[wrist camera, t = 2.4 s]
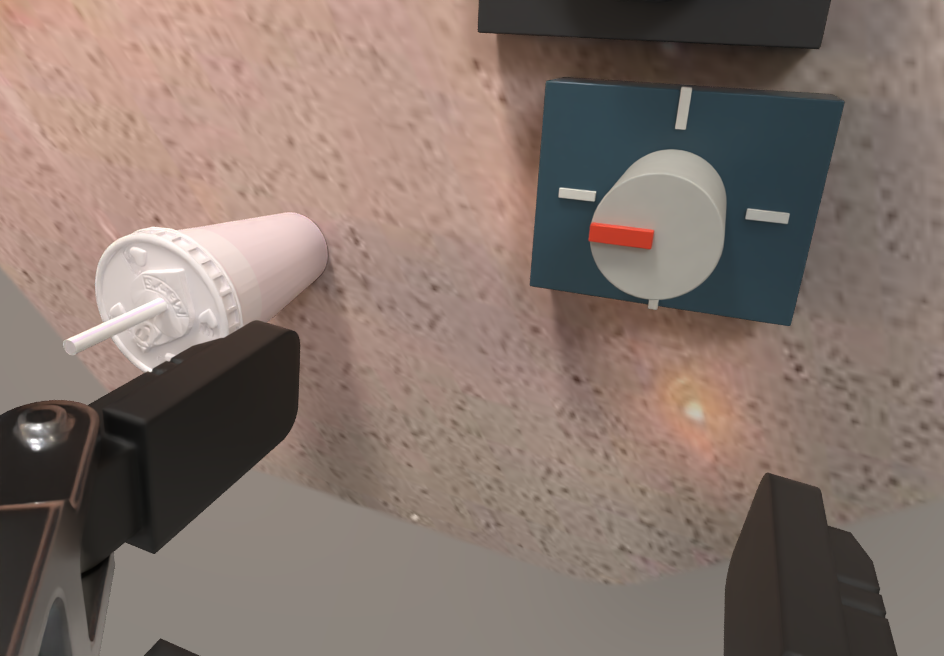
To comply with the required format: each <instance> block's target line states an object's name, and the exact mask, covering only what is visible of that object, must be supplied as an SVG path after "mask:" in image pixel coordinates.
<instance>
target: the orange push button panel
mask: <svg viewBox="0 0 944 656" xmlns="http://www.w3.org/2000/svg"><path fill="white" fill-rule="evenodd" d="M830 2H831V0H479V13H478V32H479V33H495V34H516V35H537V36H558V37H578V38H599V39H620V40H641V41H661V42H682V43H703V44H724V45H744V46H765V47H786V48H807V49H819V48H820V47H821V43H822V38H823V34H824V29H825V25H826V20H827V16H828V11H829V7H830Z"/></svg>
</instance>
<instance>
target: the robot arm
mask: <svg viewBox="0 0 944 656" xmlns="http://www.w3.org/2000/svg"><path fill="white" fill-rule="evenodd" d="M299 369H300V339H299V336H298V334H297V333H296V332H295V331H293V330H289V329H286V328H283V327H279V326H276V325H273V324H269V323H266V322H263V321H259V320H255V321H252V322H250V323H248V324H246V325H245V326H243V327H241V328H240V329H238V330H236V331H234V332H233V333H231V334H229V335H228V336H226V337H224V338H219V339H215V340H211V341H208V342H204V343H201V344H197V345H193V346H191V347H190V348H188V349H186V350H184V351H183V352H181V353H179V354H177V355H176V356H174V357H172V358H171V360H170V361H165V362H163V363H161V364H160V365H158V366H156V367H154V368H153V369H152V372H149V371H147V372H145V373H144V374H142V375H140V376H138V377H137V378H135V379H133V380H131V381H130V382H128V383H126V384H124V385H122V386H121V387H119V388H117V389H115V390H114V391H112V392H110V393H108V394H107V395H105V396H103V397H101V398H100V399H98V400H96V401H94V402H93V403H91V404H89V405H85V404H82V403H79V402H74V401H67V400H49V401H41V402H34V403H30V404H26V405H23V406H20V407H16V408H14V409H12V410H9V411H7V412H5V413H3V414H2V415H0V656H99V654H100V649H101V643H102V638H103V632H104V626H105V620H106V614H107V608H108V603H109V597H110V592H111V586H112V580H113V574H114V569H115V561H114V551H115V550H116V549H117V548H119V547H120V546H121V545H122V544H123V543H125V542H126V543H128V544H131V545H133V546H136V547H138V548H140V549H143V550H146V551H148V552H150V553H153V554H155V553H156V552H158V551H159V550H160V549H161V548H162V547H163V546H164V545H165V544H166V543H168V542H169V541H170V540H171V539H172V538H173V537H174V536H176V535H177V534H178V533H179V532H180V531H181V530H182V529H183V528H185V527H186V526H187V525H188V524H189V523H190V522H191V521H192V520H194V519H195V518H196V517H197V516H198V515H199V514H200V513H201V512H203V511H204V510H205V509H206V508H207V507H208V506H209V505H210V504H211V503H213V502H214V501H215V500H216V499H217V498H218V497H220V496H221V495H222V494H223V493H224V492H225V491H226V490H227V489H228V488H230V487H231V486H232V485H233V484H234V483H235V482H236V481H238V480H239V479H240V478H241V477H242V476H243V475H244V474H245V473H246V472H248V471H249V470H250V469H251V468H252V467H253V466H254V465H256V464H257V463H258V462H259V461H260V460H261V459H262V458H263V457H265V456H266V455H267V454H268V453H269V452H270V451H271V450H272V449H274V448H275V447H276V446H277V445H278V444H279V443H280V442H281V441H283V440H284V439H285V437H286V436H287V435H288V433H289V432H290V430H291V428H292V426H293V424H294V422H295V419H296V415H297V411H298V397H299ZM879 591H880V587H879V584H878V580H877V576H876V572H875V568H874V565H873V561H872V560H871V559H870V557H869V556H868V555H867V553H866V552H865V551H864V549H863V548H862V547H861V545H860V544H859V543H858V541H857V540H856V539H855V538H854V536H853V535H852V534H851V533H850V532H847V531H844V530H841V529H837V528H834V527H831V526H828V525H827V520H826V515H825V509H824V504H823V499H822V494H821V490H820V489H819V488H818V487H815V486H811V485H808V484H805V483H801V482H798V481H794V480H791V479H788V478H784V477H781V476H778V475H774V474H771V473H766V474H765V475H764V476H763V478H762V480H761V482H760V484H759V486H758V489H757V491H756V494H755V497H754V499H753V502H752V504H751V507H750V510H749V512H748V515H747V517H746V520H745V523H744V525H743V528H742V530H741V533H740V536H739V538H738V541H737V543H736V546H735V549H734V551H733V554H732V557H731V561H730V565H729V569H728V574H727V579H726V586H725V619H724V656H897V652H896V649H895V645H894V641H893V637H892V634H891V630H890V626H889V622H888V619H886V618H885V615H886V611H885V607H884V603H883V599H882V596H881V595H880V594H879ZM144 656H199V655H197V654H194V653H192V652H190V651H188V650H185V649H183V648H181V647H179V646H176V645H174V644H172V643H170V642H167V641H165V640H163V639H159V640H158V641H157V643H156V644H155V645H154V646H153V647H152V648H151V649H150V650H149V651H148V652H147V653H146V654H145V655H144Z"/></svg>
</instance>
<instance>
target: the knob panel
mask: <svg viewBox="0 0 944 656" xmlns="http://www.w3.org/2000/svg"><path fill="white" fill-rule="evenodd" d="M844 103H845V102H844V101H843V100H842V99H840V98H838V97H836V96H835V95H833V94H819V93H804V92H788V91H773V90H758V89H742V88H727V87H712V86H696V85H681V84H665V83H650V82H635V81H619V80H604V79H589V78H573V77H562V78H557V79H553V80H548V81H546V87H545V99H544V112H543V125H542V137H541V150H540V162H539V175H538V188H537V200H536V213H535V226H534V238H533V251H532V263H531V276H530V286H533V287H540V288H546V289H552V290H559V291H565V292H572V293H578V294H585V295H591V296H598V297H604V298H610V299H617V300H623V301H630V302H636V303H643V304H648V309H654V310H657V308H658V306H662V307H668V308H675V309H681V310H688V311H694V312H701V313H707V314H714V315H720V316H726V317H733V318H739V319H746V320H752V321H759V322H765V323H772V324H778V325H784V326H790V325H791V322H792V318H793V314H794V310H795V306H796V302H797V297H798V293H799V289H800V285H801V281H802V277H803V273H804V269H805V264H806V260H807V256H808V252H809V248H810V244H811V240H812V235H813V231H814V227H815V223H816V219H817V215H818V211H819V207H820V202H821V198H822V194H823V190H824V186H825V182H826V178H827V173H828V169H829V165H830V161H831V157H832V153H833V149H834V144H835V140H836V136H837V132H838V128H839V124H840V120H841V116H842V111H843V107H844ZM668 149H675V150H683V151H687V152H691V153H693V154H695V155H698V156H700V157H701V158H703V159H704V160H706V161H707V162H708V163H709V164H710V165H711V166H712V167H713V168H714V169H715V170H716V171H717V173H718V174H719V176H720V178H721V180H722V182H723V185H724V188H725V192H726V203H727V205H726V221H725V236H724V246H723V250H722V254H721V257H720V259H719V262H718V264H717V265H716V267H715V269H714V271H713V272H712V273H711V274H710V276H709V277H708V278H707V279H706V280H705V281H704V282H703V283H702V284H700V285H699V286H698V287H696V288H695V289H693V290H692V291H690V292H688V293H686V294H684V295H681V296H678V297H675V298H671V299H665V300H649V299H642V298H638V297H635V296H632V295H629V294H627V293H625V292H623V291H621V290H620V289H618V288H617V287H615V286H614V285H613V284H612V283H610V282H609V281H608V280H607V279H606V277H605V276H604V275H603V274H602V273H601V271H600V270H599V268H598V266H597V264H596V262H595V260H594V257H593V255H592V251H591V246H590V241H589V232H590V224H591V222H592V219H593V216H594V213H595V211H596V209H597V207H598V205H599V204H600V202H601V200H602V199H603V198H604V197H605V195H606V194H607V193H608V192H609V191H610V189H611V188H612V187H613V186H614V185H615V184H616V182H617V181H618V180H619V179H620V178H621V176H622V175H623V174H624V173H625V172H626V170H627V169H628V168H629V167H630V166H631V165H632V164H633V163H634V162H636V161H637V160H639V159H640V158H642V157H644V156H646V155H648V154H650V153H653V152H656V151H660V150H668Z"/></svg>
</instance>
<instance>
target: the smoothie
mask: <svg viewBox="0 0 944 656" xmlns="http://www.w3.org/2000/svg"><path fill="white" fill-rule="evenodd" d="M327 260H328V250H327V244H326V241H325V239H324V236H323V234H322V233H321V231H320V229H319V228H318V227H317V226H316V224H314V223H313V222H312V221H311V220H310V219H308V218H307V217H305V216H303V215H301V214H298V213H293V212H286V213H280V214H274V215H268V216H262V217H256V218H250V219H244V220H238V221H232V222H226V223H220V224H214V225H208V226H202V227H196V228H188V229H182V230H177V231H176V230H173V229H169V228H161V227H150V228H145V229H141V230H137V231H135V232H134V233H132V234H130V235H126V236H124V237H121V238H119V239H117V240H116V241H114V242H113V243H112V244H111V245H110V246H109V247H108V248H107V249H106V250H105V252H104V253H103V255H102V257H101V258H100V261H99V263H98V267H97V270H96V277H95V293H96V301H97V305H98V309H99V313H100V316H101V318H102V321H103V323H102V324H100V325H98V326H95V327H93V328H91V329H89V330H86V331H84V332H82V333H80V334H78V335H75V336H73V337H71V338H69V339H66V340H65V341H64V342H63V347H64V349H65V351H66V352H67V353H69V354H70V355H75V354H77V353H79V352H81V351H83V350H85V349H87V348H89V347H92V346H94V345H96V344H98V343H100V342H102V341H104V340H106V339H108V338H110V337H111V339H112V340H113V342H114V343H115V344H116V346H117V347H118V348H119V350H120V351H121V352H122V353H123V354H124V355H125V356H126V357H127V358H128V360H129V361H130V362H131V363H133V364H134V365H135V366H136V367H138V368H139V369H140V370H141V371H143V372H144V373H145V372H147V371H149V372H152V369H153V368H154V367H156V366H158V365H160V364H161V363H163V362H165V361H170V360H171V358H172V357H174V356H176V355H177V354H179V353H181V352H183V351H184V350H186V349H188V348H190V347H191V346H193V345H197V344H201V343H204V342H208V341H211V340H215V339H219V338H224V337H226V336H228V335H229V334H231V333H233V332H234V331H236V330H238V329H240V328H241V327H243V326H245V325H246V324H248V323H250V322H252V321H255V320H259V321H263V322H266V323H267V322H268V321H269V320H270V319H272V318H273V317H274V316H275V315H276V314H277V313H278V312H279V311H281V310H282V309H283V308H284V307H285V306H286V305H287V304H289V303H290V302H291V301H292V300H293V299H294V298H295V297H296V296H298V295H299V294H300V293H301V292H302V291H303V290H304V289H306V288H307V287H308V286H309V285H310V284H311V283H312V282H314V281H315V280H316V279H317V278H318V277H319V276H320V275H321V274H322V273H323V271H324V269H325V267H326V264H327Z"/></svg>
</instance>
